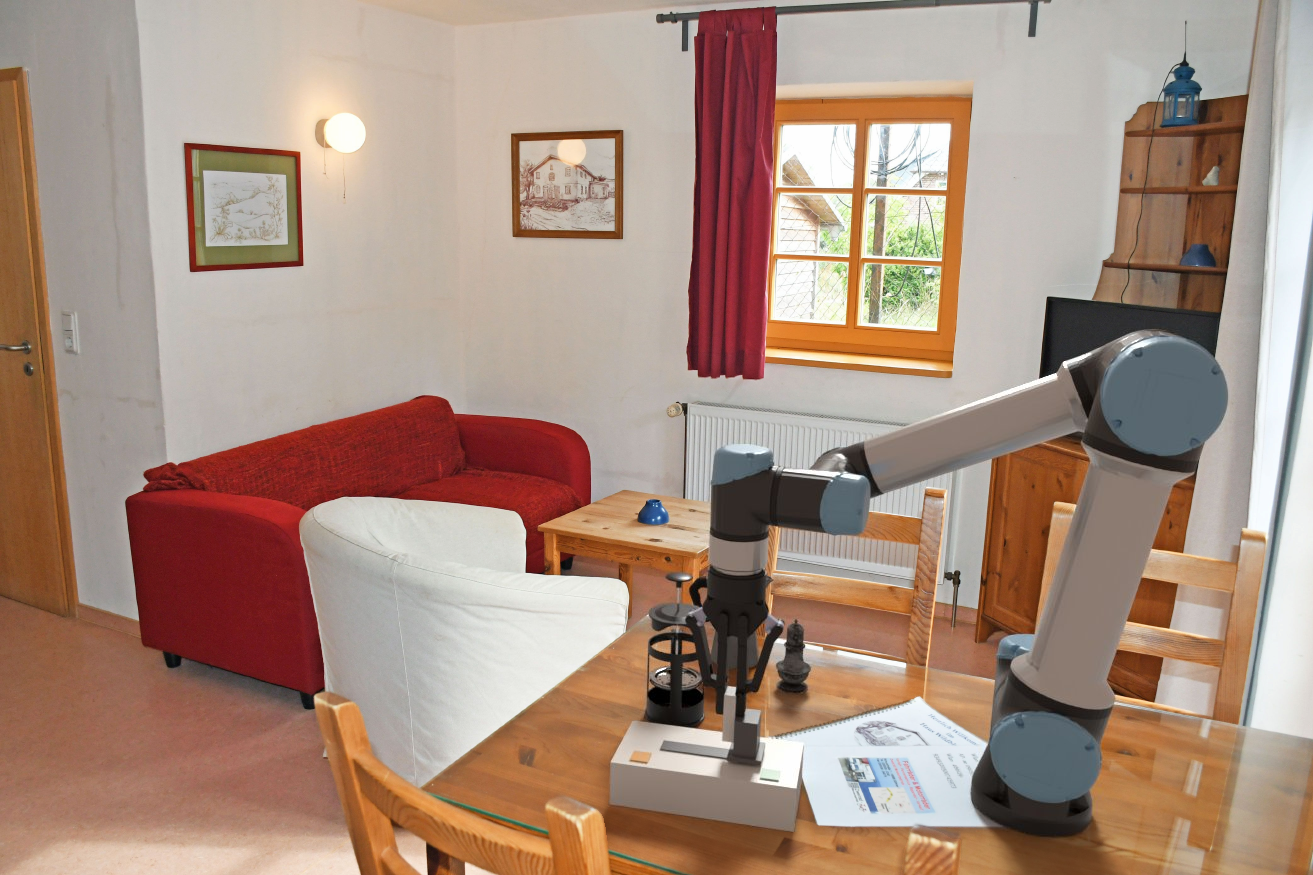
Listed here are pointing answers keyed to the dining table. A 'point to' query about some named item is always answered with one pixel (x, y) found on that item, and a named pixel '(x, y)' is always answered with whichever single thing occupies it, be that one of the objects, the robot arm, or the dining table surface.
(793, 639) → the salt shaker
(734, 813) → the slider switch box
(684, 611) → the french press
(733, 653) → the coffeepot
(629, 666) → the dining table surface
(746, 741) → the grey slider handle
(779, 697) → the dining table surface
